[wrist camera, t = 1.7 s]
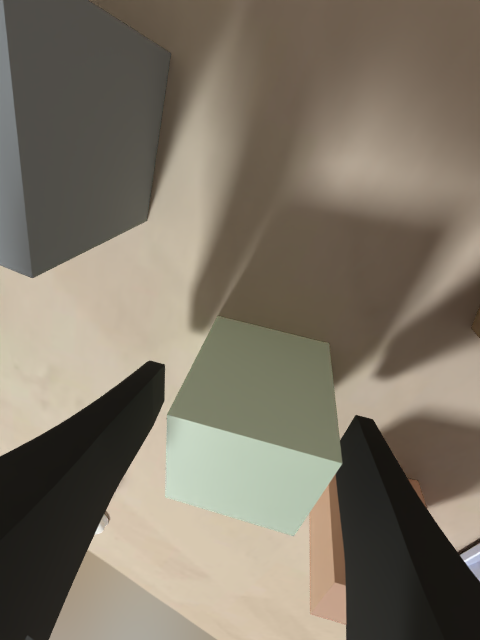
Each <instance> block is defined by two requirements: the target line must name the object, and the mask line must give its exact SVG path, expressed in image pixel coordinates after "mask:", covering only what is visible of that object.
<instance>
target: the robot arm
mask: <svg viewBox="0 0 480 640" xmlns="http://www.w3.org/2000/svg"><path fill="white" fill-rule="evenodd" d="M164 391H165V365H164V364H161V363H157V362H153V361H148V362H146V363H145V364H144V365H143V366H141V367H140V368H139V369H137V370H136V371H135V372H134V373H132V374H131V375H130V376H129V377H127V378H126V379H125V380H123V381H122V382H121V383H119V384H118V385H117V386H115V387H114V388H113V389H111V390H110V391H108V392H107V393H106V394H104V395H103V396H101V397H100V398H99V399H97V400H96V401H94V402H93V403H91V404H90V405H88V406H87V407H85V408H84V409H82V410H81V411H79V412H78V413H76V414H75V415H73V416H72V417H70V418H69V419H67V420H65V421H64V422H62V423H60V424H59V425H57V426H55V427H54V428H52V429H50V430H49V431H47V432H45V433H43V434H42V435H40V436H38V437H36V438H35V439H33V440H31V441H29V442H27V443H25V444H23V445H21V446H19V447H18V448H16V449H14V450H12V451H10V452H8V453H6V454H4V455H2V456H0V640H49V638H50V635H51V633H52V630H53V628H54V626H55V623H56V621H57V618H58V616H59V613H60V611H61V609H62V606H63V604H64V602H65V599H66V597H67V595H68V592H69V590H70V588H71V586H72V583H73V581H74V579H75V576H76V574H77V572H78V569H79V567H80V565H81V563H82V561H83V558H84V556H85V554H86V552H87V550H88V547H89V545H90V543H91V541H92V539H93V537H94V534H95V532H96V530H97V528H98V526H99V524H100V521H101V519H102V517H103V515H104V513H105V511H106V509H107V507H108V505H109V503H110V501H111V498H112V496H113V494H114V492H115V491H116V489H117V487H118V485H119V483H120V481H121V480H122V478H123V476H124V475H125V473H126V471H127V470H128V468H129V466H130V464H131V463H132V461H133V459H134V458H135V456H136V454H137V453H138V451H139V449H140V447H141V446H142V444H143V442H144V441H145V439H146V437H147V435H148V434H149V432H150V430H151V429H152V427H153V425H154V423H155V421H156V418H157V416H158V414H159V412H160V409H161V407H162V405H163V403H164ZM340 446H341V455H342V465H341V466H340V468H339V469H338V471H337V472H336V484H337V493H338V503H339V511H340V520H341V529H342V537H343V546H344V558H345V580H346V640H480V543H479V544H477V545H476V546H474V547H472V548H471V549H469V550H467V551H466V552H464V553H462V554H461V555H459V554H458V552H457V551H456V550H455V548H454V547H453V546H452V544H451V543H450V542H449V540H448V539H447V537H446V536H445V535H444V533H443V532H442V530H441V529H440V528H439V526H438V525H437V523H436V522H435V520H434V519H433V517H432V516H431V514H430V513H429V511H428V510H427V508H426V507H425V505H424V504H423V502H422V501H421V499H420V498H419V496H418V494H417V493H416V491H415V490H414V488H413V486H412V485H411V483H410V482H409V480H408V478H407V477H406V475H405V473H404V472H403V470H402V469H401V467H400V465H399V463H398V462H397V460H396V458H395V457H394V455H393V453H392V451H391V450H390V448H389V446H388V445H387V443H386V441H385V439H384V438H383V436H382V434H381V432H380V431H379V429H378V427H377V425H376V424H375V422H374V420H373V419H369V418H365V417H362V416H358V415H356V416H355V417H354V419H353V420H352V422H351V424H350V425H349V427H348V429H347V430H346V432H345V433H344V435H343V437H342V438H341V440H340Z"/></svg>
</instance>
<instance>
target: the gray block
mask: <svg viewBox="0 0 480 640" xmlns="http://www.w3.org/2000/svg"><path fill="white" fill-rule="evenodd" d="M170 57H171V53H170V52H168V51H167V50H165V49H164V48H162V47H160V46H159V45H157V44H156V43H154V42H153V41H151V40H150V39H148V38H146V37H145V36H143V35H142V34H140V33H139V32H137V31H135V30H134V29H132V28H131V27H129V26H128V25H126V24H125V23H123V22H121V21H120V20H118V19H117V18H115V17H114V16H112V15H111V14H109V13H107V12H106V11H104V10H103V9H101V8H100V7H98V6H96V5H95V4H93V3H92V2H90V1H89V0H0V265H1V266H3V267H6V268H8V269H11V270H13V271H16V272H18V273H21V274H23V275H26V276H28V277H30V278H34V277H36V276H38V275H40V274H42V273H44V272H46V271H48V270H50V269H52V268H54V267H56V266H58V265H60V264H62V263H64V262H66V261H68V260H70V259H72V258H74V257H76V256H78V255H80V254H82V253H84V252H86V251H88V250H90V249H92V248H94V247H96V246H98V245H100V244H102V243H104V242H106V241H108V240H110V239H112V238H114V237H116V236H118V235H120V234H122V233H124V232H126V231H128V230H130V229H132V228H134V227H136V226H138V225H140V224H142V223H144V222H146V221H147V217H148V210H149V203H150V196H151V189H152V182H153V175H154V168H155V161H156V154H157V147H158V140H159V133H160V126H161V119H162V113H163V106H164V99H165V92H166V85H167V78H168V71H169V64H170Z"/></svg>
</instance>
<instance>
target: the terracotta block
mask: <svg viewBox="0 0 480 640" xmlns="http://www.w3.org/2000/svg"><path fill="white" fill-rule="evenodd" d="M408 480H409V482H410V483H411V485H412V486H413V488H414V490H415V491H416V493H417V494H418V496H419V498H420V499H421V501H422V502H423V504H424V505H425V507H426V504H425V501H424V497H423V494H422V491H421V488H420V485H419V482H418V481H416V480H412V479H408ZM426 508H427V507H426ZM309 516H310V614H312V615H315V616H318V617H322V618H325V619H328V620H332V621H335V622H338V623H342V624H345V625H346V580H345V558H344V546H343V537H342V529H341V520H340V511H339V503H338V493H337V484H336V474H335V475H334V477H333V478H332V480H331V481H330V483H329V484H328V486H327V487H326V489H325V490H324V492H323V493H322V495H321V496H320V498H319V499H318V501H317V502H316V504H315V505H314V507H313V508H312V510H311V511H310V513H309Z"/></svg>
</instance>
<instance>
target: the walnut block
mask: <svg viewBox="0 0 480 640" xmlns="http://www.w3.org/2000/svg"><path fill="white" fill-rule="evenodd" d="M471 329H472V330H473V331H474V332H475V333H476V334H477V335H478V337H479V338H480V306H479V309H478V311H477V314H476V317H475V319H474V322H473V324H472V327H471Z"/></svg>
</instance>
